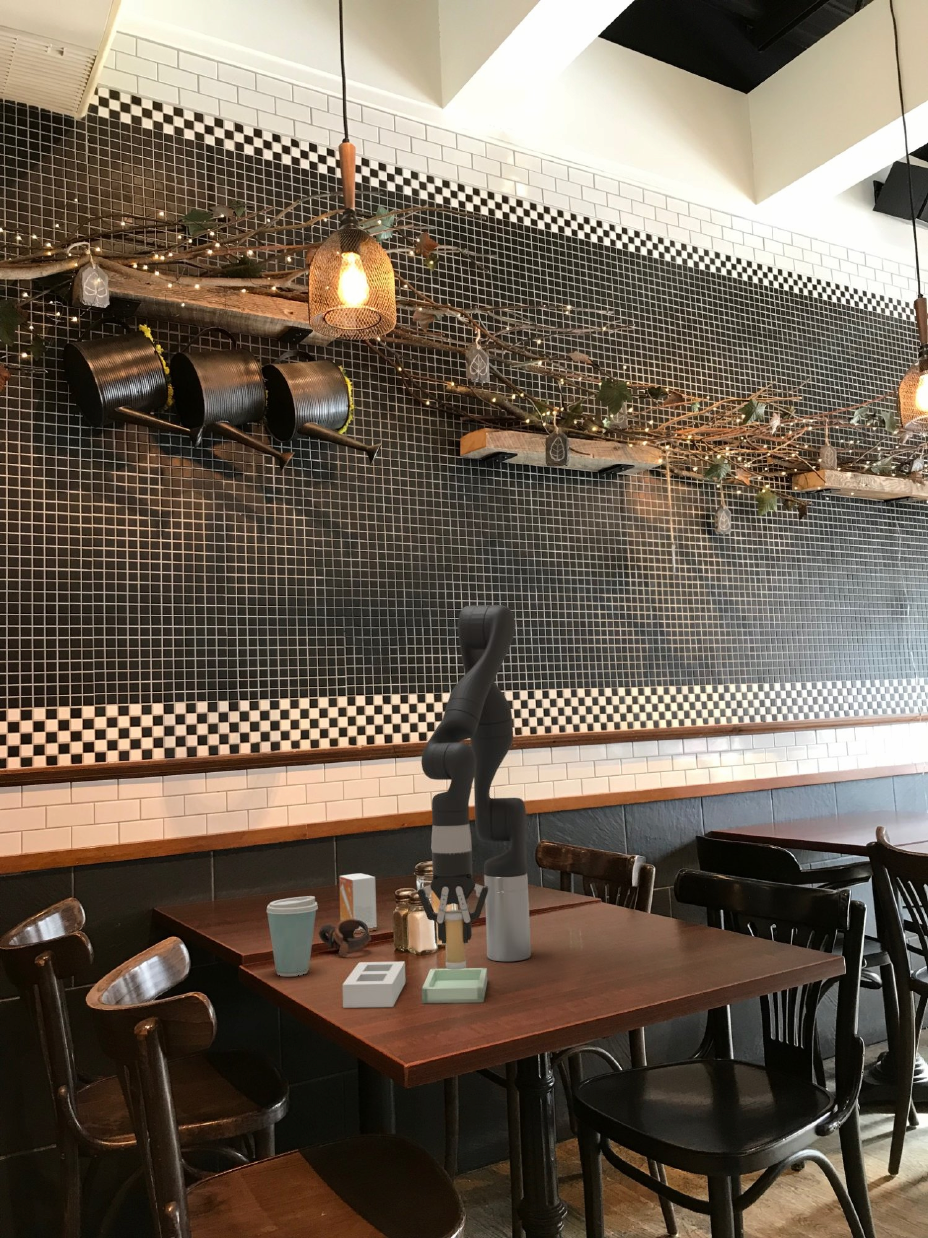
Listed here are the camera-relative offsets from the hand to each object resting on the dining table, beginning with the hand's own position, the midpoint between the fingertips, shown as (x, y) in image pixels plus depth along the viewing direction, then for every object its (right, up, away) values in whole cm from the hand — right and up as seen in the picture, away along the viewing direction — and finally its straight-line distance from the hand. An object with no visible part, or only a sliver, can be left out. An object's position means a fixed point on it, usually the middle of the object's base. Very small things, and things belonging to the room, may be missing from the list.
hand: (454, 942), depth 184 cm
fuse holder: (-15, -10, -1) cm, 18 cm away
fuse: (0, -4, -1) cm, 4 cm away
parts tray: (0, -9, -1) cm, 9 cm away
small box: (-24, -16, +57) cm, 64 cm away
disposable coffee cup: (-33, -12, +18) cm, 40 cm away
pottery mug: (-25, -14, +34) cm, 44 cm away
